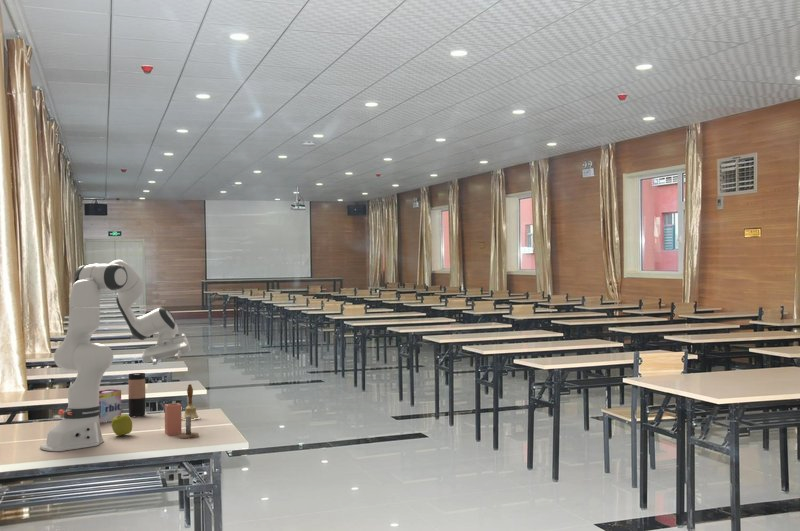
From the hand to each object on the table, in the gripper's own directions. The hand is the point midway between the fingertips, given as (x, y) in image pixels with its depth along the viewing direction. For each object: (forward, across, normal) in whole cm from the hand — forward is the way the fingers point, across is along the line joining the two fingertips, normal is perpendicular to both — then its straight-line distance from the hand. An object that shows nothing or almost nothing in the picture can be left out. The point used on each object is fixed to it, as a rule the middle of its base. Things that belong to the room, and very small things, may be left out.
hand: (165, 360), depth 312 cm
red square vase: (+23, -2, +21) cm, 31 cm away
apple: (+20, -22, +18) cm, 35 cm away
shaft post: (+31, +5, +19) cm, 37 cm away
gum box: (-14, -41, +31) cm, 54 cm away
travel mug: (-25, -26, +41) cm, 55 cm away
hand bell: (-9, 0, +39) cm, 40 cm away
